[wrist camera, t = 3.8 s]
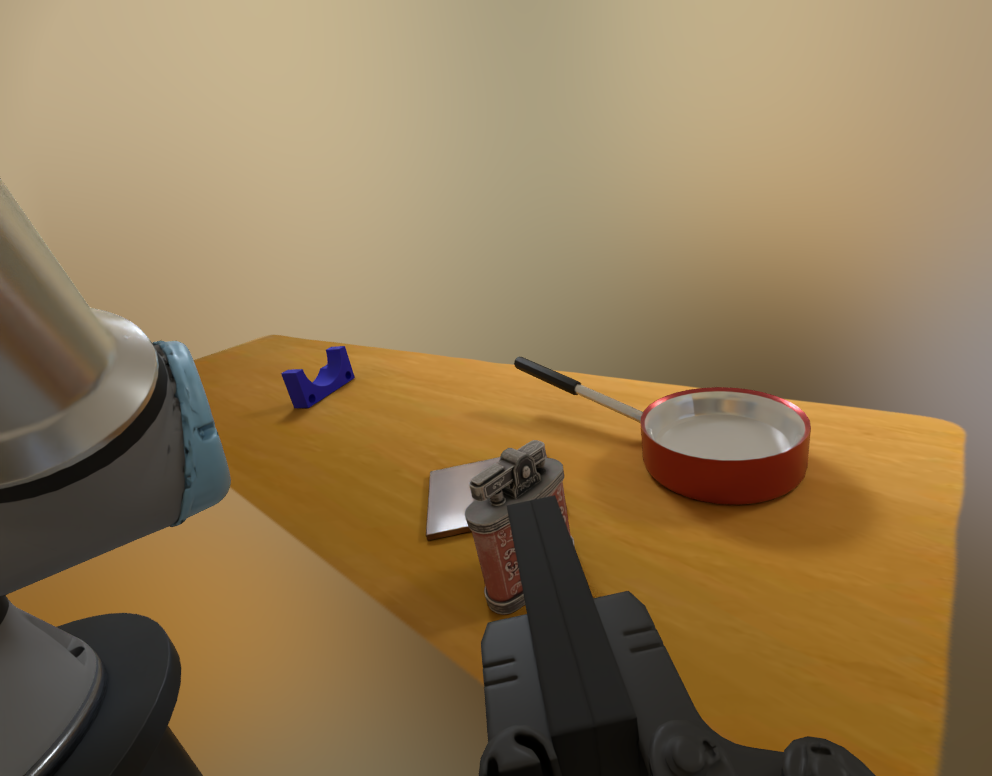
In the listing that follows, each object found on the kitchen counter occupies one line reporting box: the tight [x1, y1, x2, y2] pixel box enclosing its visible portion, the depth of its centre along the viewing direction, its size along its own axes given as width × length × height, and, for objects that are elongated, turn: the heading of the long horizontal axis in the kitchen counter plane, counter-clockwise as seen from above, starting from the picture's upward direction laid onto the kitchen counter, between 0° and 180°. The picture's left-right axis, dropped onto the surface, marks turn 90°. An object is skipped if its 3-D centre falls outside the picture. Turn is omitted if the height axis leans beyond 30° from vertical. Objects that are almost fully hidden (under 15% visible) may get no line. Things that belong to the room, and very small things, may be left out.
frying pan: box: [514, 357, 811, 505], centre depth 47 cm, size 32×13×6 cm, turn 45°
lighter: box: [465, 440, 575, 614], centre depth 32 cm, size 8×3×10 cm, turn 132°
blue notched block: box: [281, 346, 355, 408], centre depth 78 cm, size 12×4×6 cm, turn 159°
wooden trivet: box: [426, 455, 567, 540], centre depth 44 cm, size 12×10×1 cm
